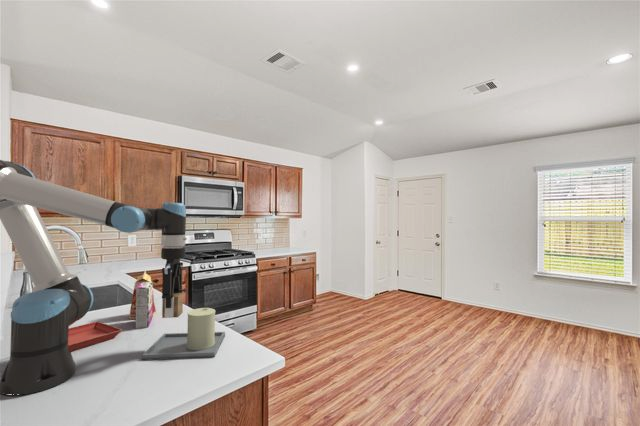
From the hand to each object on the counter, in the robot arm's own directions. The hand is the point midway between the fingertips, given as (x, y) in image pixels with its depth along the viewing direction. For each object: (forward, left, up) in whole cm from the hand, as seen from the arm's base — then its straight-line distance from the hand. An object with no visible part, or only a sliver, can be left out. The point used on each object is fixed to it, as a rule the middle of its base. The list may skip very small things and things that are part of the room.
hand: (172, 314), depth 105 cm
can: (0, -10, -11) cm, 15 cm away
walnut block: (0, 0, 0) cm, 0 cm away
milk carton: (+36, +25, -12) cm, 45 cm away
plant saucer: (+9, +34, -12) cm, 37 cm away
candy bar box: (+25, +20, -12) cm, 34 cm away
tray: (0, -5, -11) cm, 13 cm away
